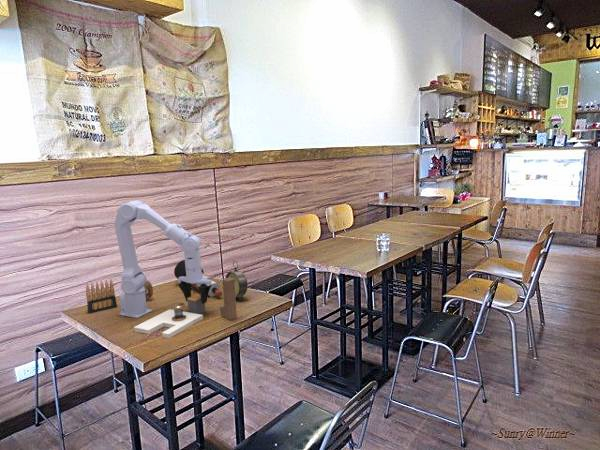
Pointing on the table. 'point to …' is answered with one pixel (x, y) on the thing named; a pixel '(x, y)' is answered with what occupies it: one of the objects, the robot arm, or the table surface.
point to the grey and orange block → (195, 304)
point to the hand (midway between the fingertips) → (196, 301)
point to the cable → (214, 290)
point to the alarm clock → (238, 282)
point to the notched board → (168, 323)
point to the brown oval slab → (148, 290)
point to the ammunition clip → (100, 297)
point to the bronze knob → (178, 312)
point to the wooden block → (229, 299)
